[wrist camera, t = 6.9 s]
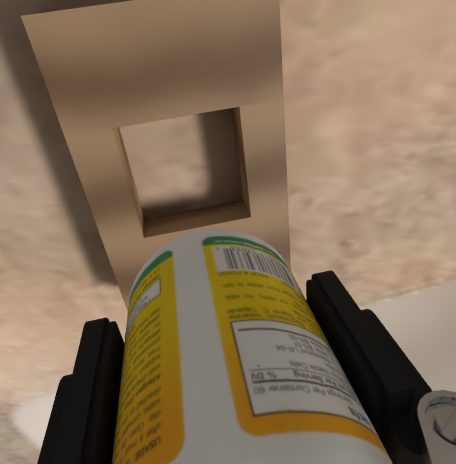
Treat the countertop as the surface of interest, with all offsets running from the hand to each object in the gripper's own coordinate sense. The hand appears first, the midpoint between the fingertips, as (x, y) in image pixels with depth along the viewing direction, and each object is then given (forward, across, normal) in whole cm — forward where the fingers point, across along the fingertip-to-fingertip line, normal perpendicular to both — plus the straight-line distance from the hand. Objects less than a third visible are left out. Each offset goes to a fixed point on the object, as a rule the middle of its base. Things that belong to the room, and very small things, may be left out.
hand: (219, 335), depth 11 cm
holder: (+15, 0, 0) cm, 15 cm away
